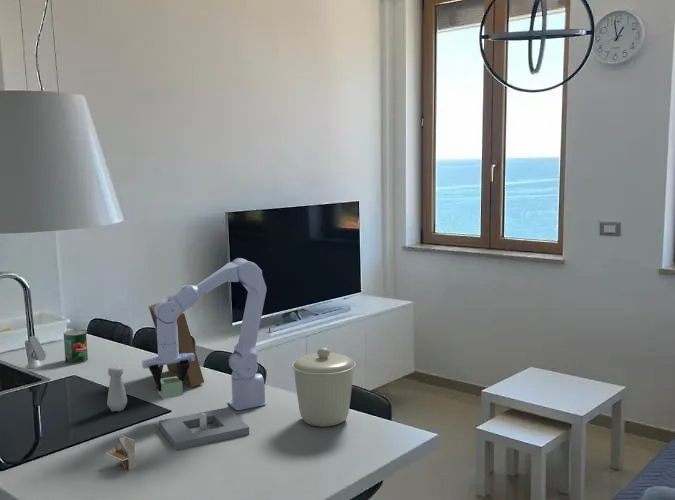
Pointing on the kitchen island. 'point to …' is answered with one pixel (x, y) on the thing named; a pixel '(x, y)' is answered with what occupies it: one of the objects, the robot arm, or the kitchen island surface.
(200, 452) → the kitchen island surface
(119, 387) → the salt shaker
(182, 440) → the slotted base plate
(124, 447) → the architectural model
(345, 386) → the canister
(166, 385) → the hollow block
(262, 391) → the robot arm
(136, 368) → the kitchen island surface
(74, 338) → the canned tomato
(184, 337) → the photo frame
